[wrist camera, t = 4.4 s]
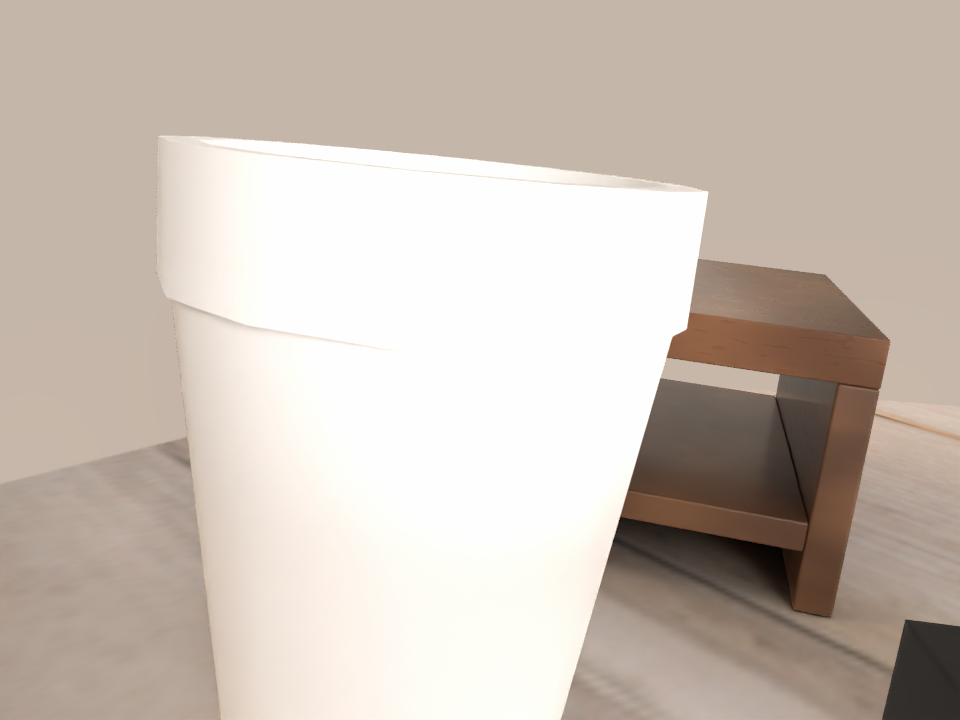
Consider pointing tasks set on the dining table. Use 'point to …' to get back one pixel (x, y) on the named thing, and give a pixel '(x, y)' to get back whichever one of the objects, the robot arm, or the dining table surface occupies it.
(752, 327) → the shelf
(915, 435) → the dining table surface
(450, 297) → the foam cup
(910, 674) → the robot arm
